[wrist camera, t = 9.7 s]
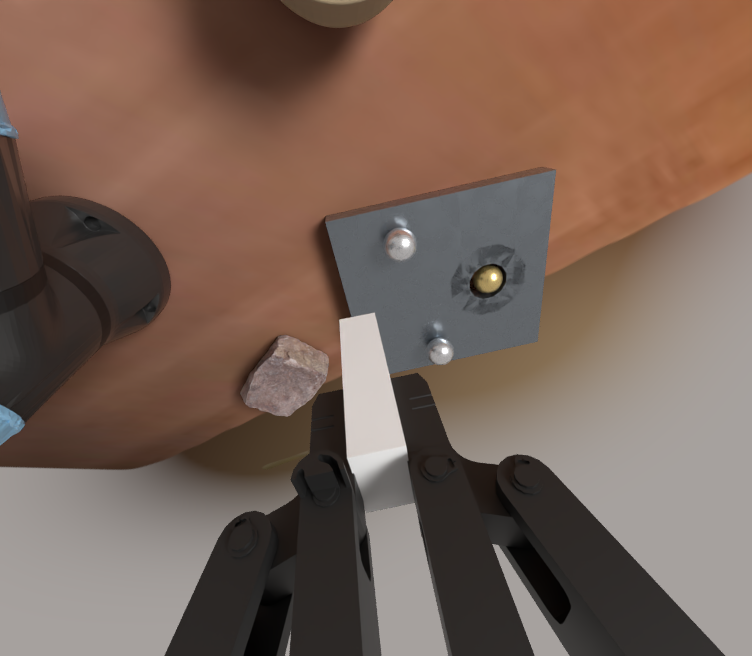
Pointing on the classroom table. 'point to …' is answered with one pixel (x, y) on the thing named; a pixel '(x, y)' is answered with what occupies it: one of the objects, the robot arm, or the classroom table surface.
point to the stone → (285, 377)
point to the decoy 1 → (400, 245)
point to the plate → (450, 266)
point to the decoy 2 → (440, 351)
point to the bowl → (337, 11)
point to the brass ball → (487, 278)
